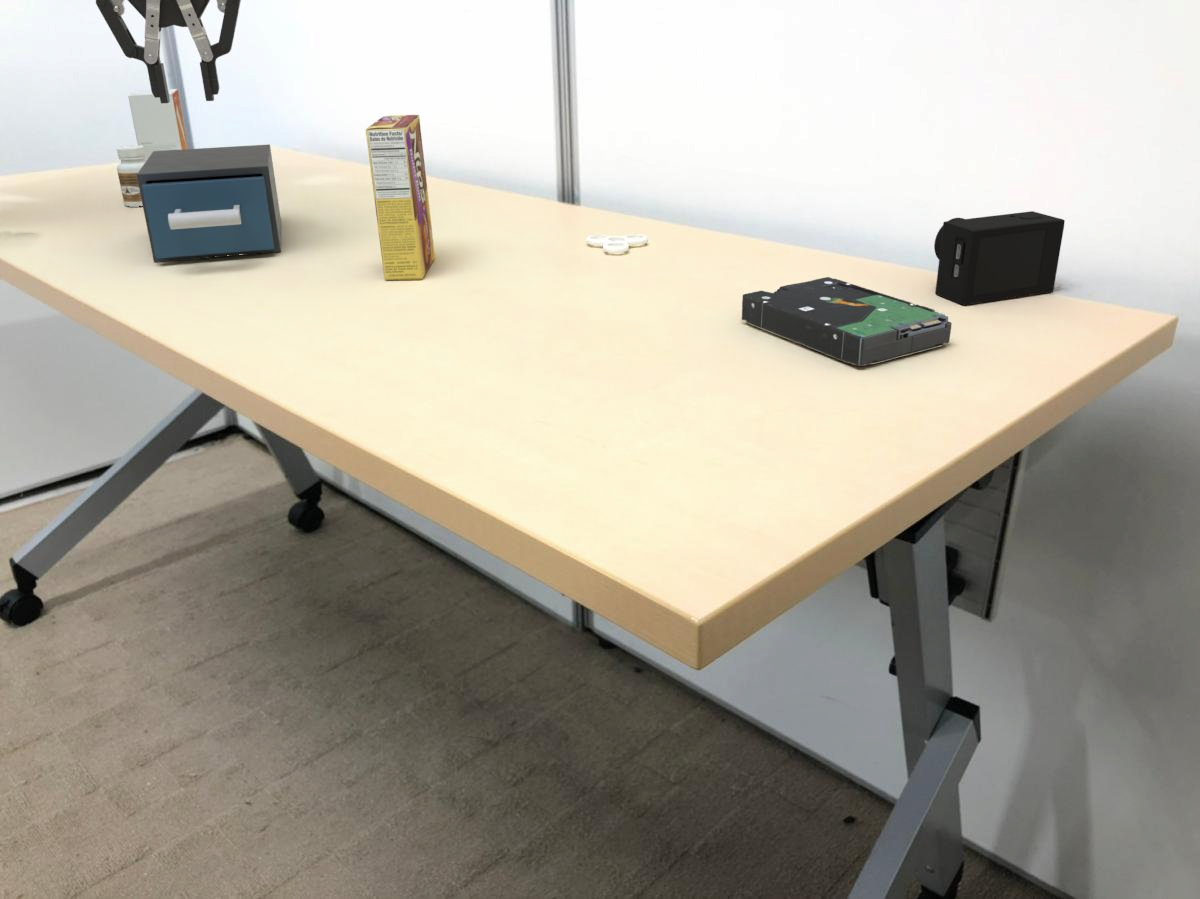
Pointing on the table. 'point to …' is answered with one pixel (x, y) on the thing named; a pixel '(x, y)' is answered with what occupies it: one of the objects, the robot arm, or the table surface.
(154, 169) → the drawer cabinet
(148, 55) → the robot arm
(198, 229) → the blue drawer
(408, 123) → the candy box
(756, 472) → the table surface
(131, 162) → the pill bottle
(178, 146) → the small box
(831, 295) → the disk drive
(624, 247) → the fidget spinner
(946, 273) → the digital camera
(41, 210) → the table surface
